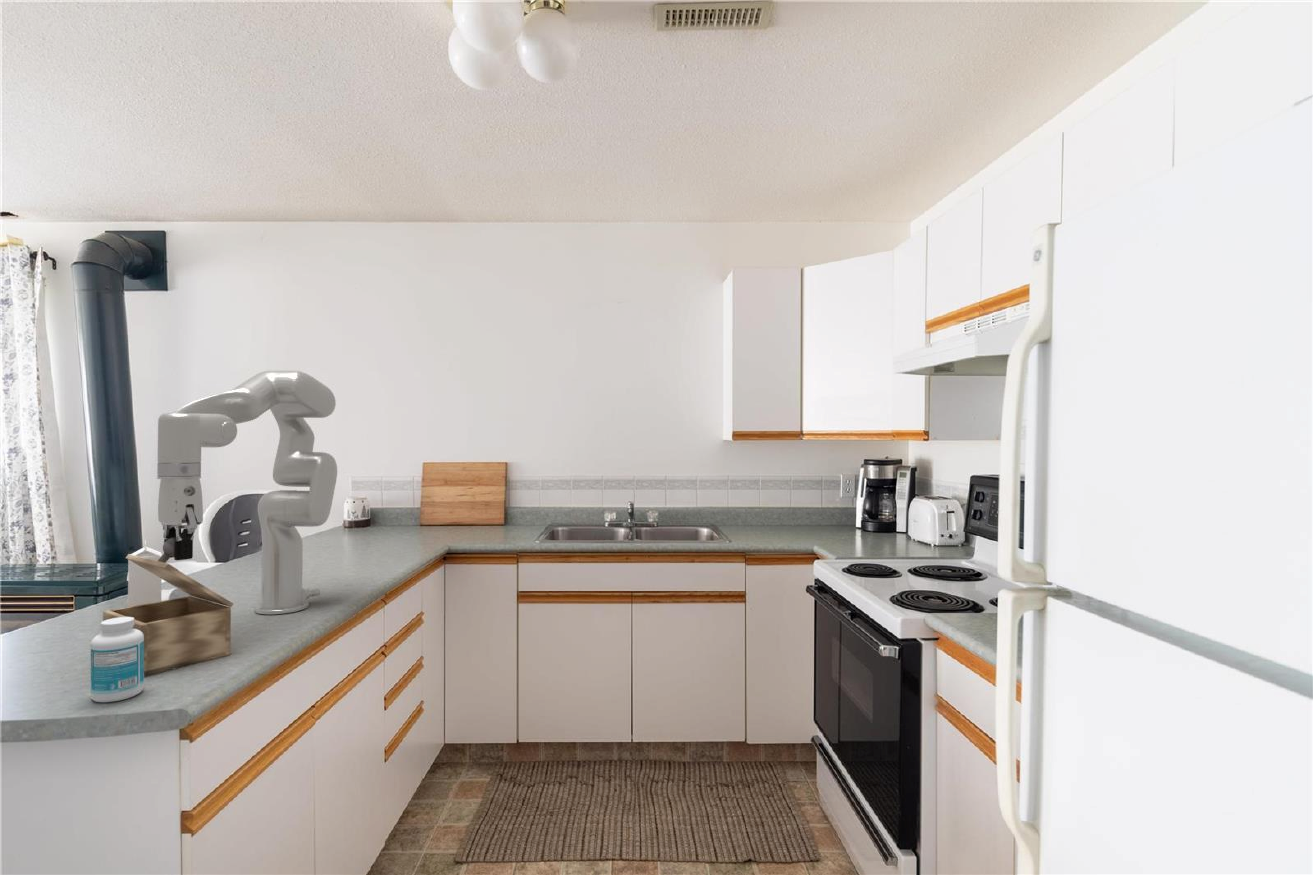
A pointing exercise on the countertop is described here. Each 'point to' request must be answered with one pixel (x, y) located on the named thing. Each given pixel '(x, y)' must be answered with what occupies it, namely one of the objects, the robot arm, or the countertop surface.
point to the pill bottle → (117, 661)
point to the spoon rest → (173, 594)
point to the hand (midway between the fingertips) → (178, 557)
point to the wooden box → (179, 631)
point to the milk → (143, 580)
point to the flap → (177, 575)
